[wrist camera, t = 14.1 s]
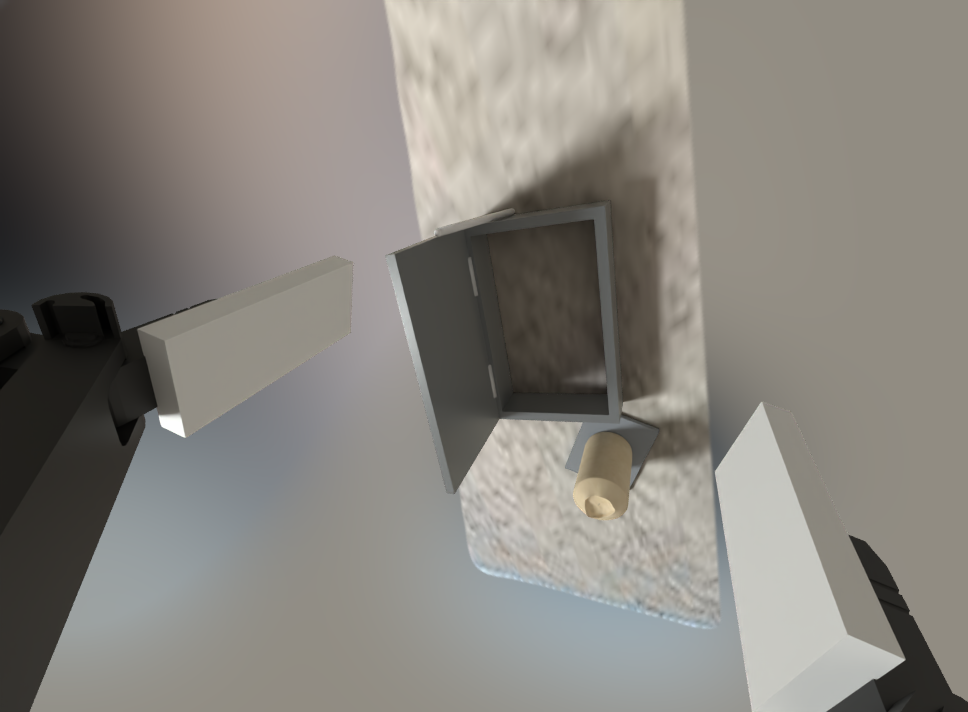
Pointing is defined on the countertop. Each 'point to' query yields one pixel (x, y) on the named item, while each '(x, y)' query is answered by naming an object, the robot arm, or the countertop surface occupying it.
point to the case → (488, 334)
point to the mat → (628, 428)
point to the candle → (604, 476)
